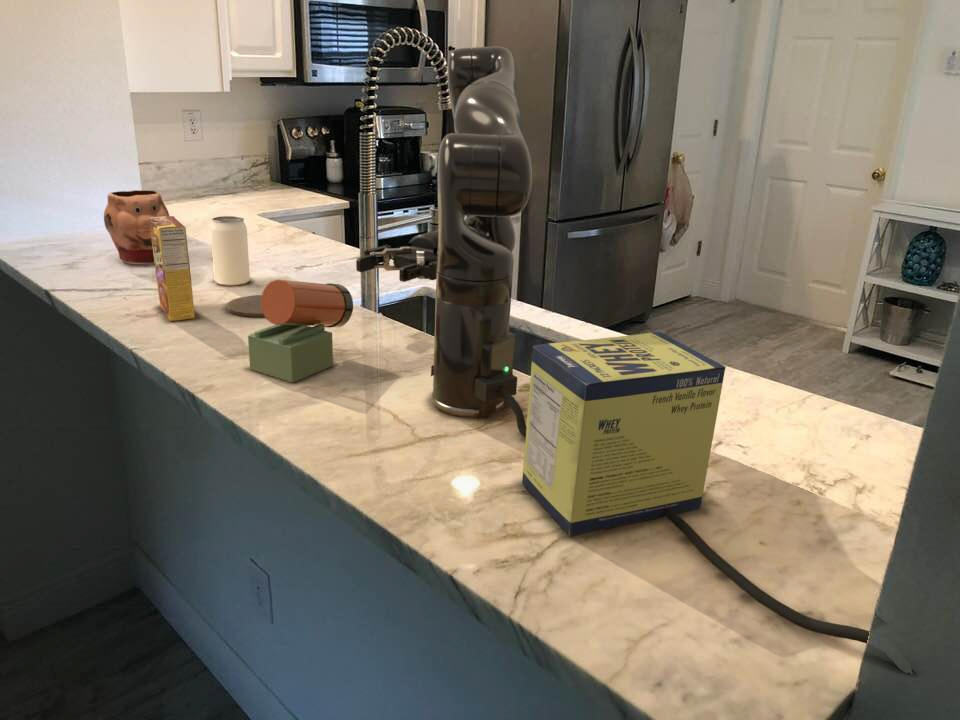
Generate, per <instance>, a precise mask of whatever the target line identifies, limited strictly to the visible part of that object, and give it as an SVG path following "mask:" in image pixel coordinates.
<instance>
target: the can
mask: <svg viewBox="0 0 960 720" xmlns="http://www.w3.org/2000/svg"><path fill="white" fill-rule="evenodd" d="M244 220H245V218H244V217H241V216H234V215H222V216H215V217H213V218H211V221H212V222H211V224H210V243H211V254H212V267H213V269H212V270H213V279H214V282H215V284H217V285H220V286H226V287H229V286H230V287H235V286H243V285H246V284H247V283H249V281H250V279H251V276H250V262H249V261H250V258H249V257H250V256H249V241H248V239H249V238H248V227H247V225H246V223H245V221H244Z"/></svg>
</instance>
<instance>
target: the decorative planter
mask: <svg viewBox="0 0 960 720" xmlns="http://www.w3.org/2000/svg"><path fill="white" fill-rule="evenodd" d="M163 216H170V213H169V210H168V208H167V207H166V204H165V203H164V200H163V199H162V196H161V193H160V192H158V191H155V190H149V189H141V190H140V189H138V190H137V189H135V190H119V191H113V192H109V193H108V194H107V204H106V206H105V208H104V213H103V222H104V226H105V229H106V231H107V232H108V234H109V237H110V238H111V241H112V242H113V244H114V246H115V248H116V250H117V252H118V256H119V259H120V261H122V262H124V263H126V264H131V265H148V264H155V262H154V255H153V247H152V239H151V232H150V224H149V218H151V217H163Z"/></svg>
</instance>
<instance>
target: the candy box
mask: <svg viewBox="0 0 960 720" xmlns="http://www.w3.org/2000/svg"><path fill="white" fill-rule="evenodd" d="M149 224H150V232H151V239H152V247H153V255H154V262H155V263H154V269H155V270H154V271H155V276H156V286H157V293H158V300H159V301H158V302H159V306H160V308H161V309H162V311H163V312H164V313H165V315H166V317H167V319H168V320H169V322H176V321H177V322H178V321H185V320H186V321H187V320H194V319H195V318H196V316H195V315H196V314H195V305H194V295H193V286H192V276H191V275H192V274H191V267H190V257H189V247H188V238H187V237H188V236H187V228H186V226H185V225H183V224H182V223H181V221H179V220H178V219H177V218H176V217H175V216H174V215H169V216H163V217H151V218H149Z"/></svg>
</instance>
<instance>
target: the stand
mask: <svg viewBox="0 0 960 720" xmlns="http://www.w3.org/2000/svg"><path fill="white" fill-rule="evenodd" d="M325 329H326V327H325V325H323V324H319V325H316V326H304V325H275V324H273V325H270V326H268V327H265V328H261V329H258V330H257V331H256V330H255V331H254V333H249V334H248V335H247V341H248V358H249V369H250V370H251V371H254V372H258V373H261V374H264V375H267V376H270V377H274V378H276V379H279V380H282V381H285V382H289V383H296V382H298V381H300V380H303V379H305V378H307V377H310V376H312V375H314V374H317V373H319V372H322V371H324V370H326V369H329V368H331V367H333V366H334V354H333V350H334V349H333V348H334V347H333V346H334V345H333V332H331V331H328V330H325Z"/></svg>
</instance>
